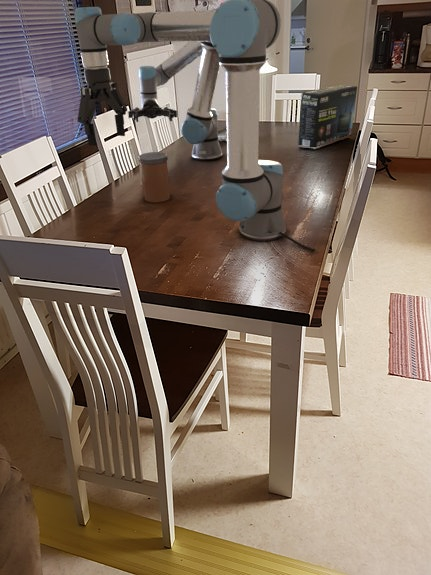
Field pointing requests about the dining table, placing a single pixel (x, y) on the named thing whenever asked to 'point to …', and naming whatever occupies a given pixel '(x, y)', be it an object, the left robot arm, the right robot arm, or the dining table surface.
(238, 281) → the dining table surface
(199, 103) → the left robot arm
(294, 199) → the dining table surface
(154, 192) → the jar
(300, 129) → the router box
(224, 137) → the fossil
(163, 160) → the lid
